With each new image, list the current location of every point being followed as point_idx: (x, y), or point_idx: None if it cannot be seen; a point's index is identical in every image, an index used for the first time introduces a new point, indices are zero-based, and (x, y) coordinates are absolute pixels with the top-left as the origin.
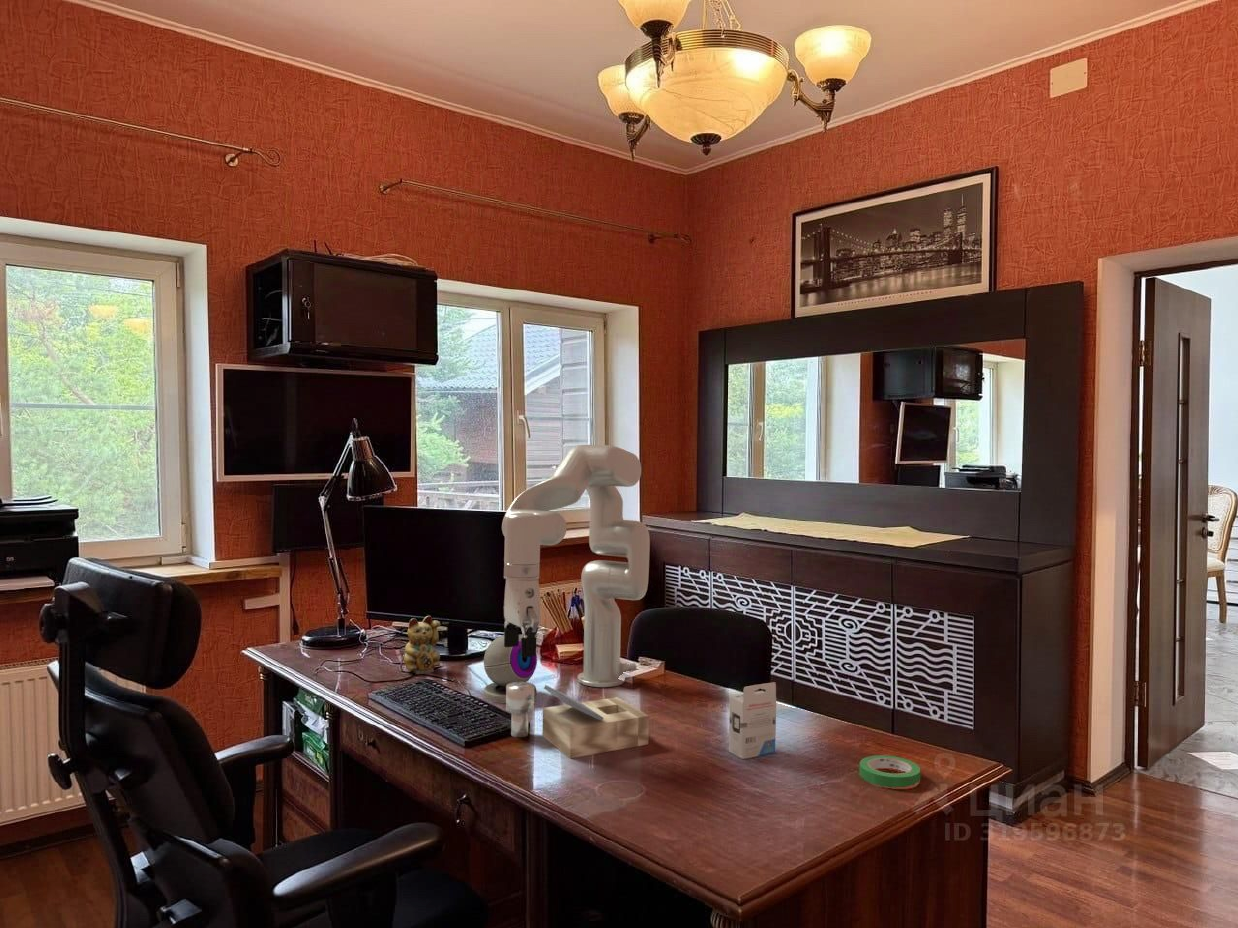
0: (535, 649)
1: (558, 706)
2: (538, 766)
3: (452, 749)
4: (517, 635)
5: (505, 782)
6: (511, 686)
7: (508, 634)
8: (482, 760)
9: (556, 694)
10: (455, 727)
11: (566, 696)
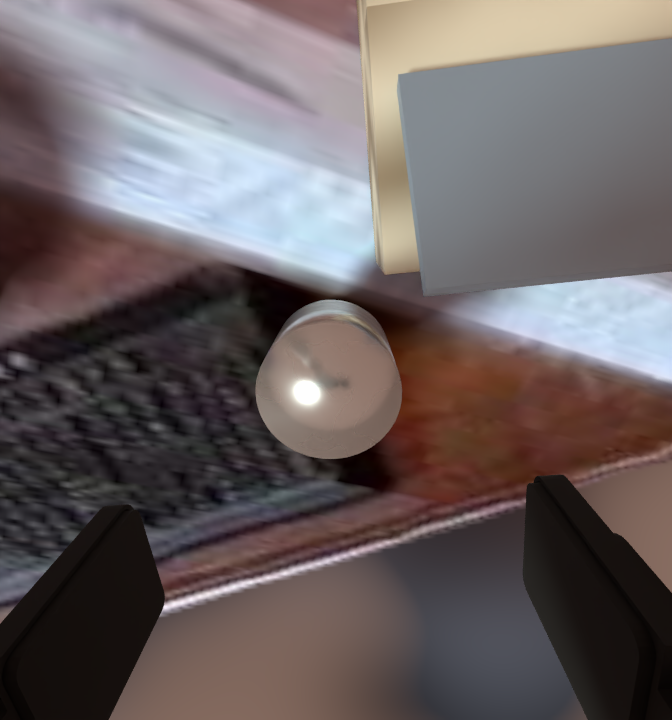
0: (592, 515)
1: (388, 196)
2: (614, 349)
3: (387, 519)
4: (80, 598)
5: (664, 455)
6: (326, 436)
7: (101, 700)
8: (495, 472)
9: (596, 274)
10: (219, 483)
11: (513, 182)
